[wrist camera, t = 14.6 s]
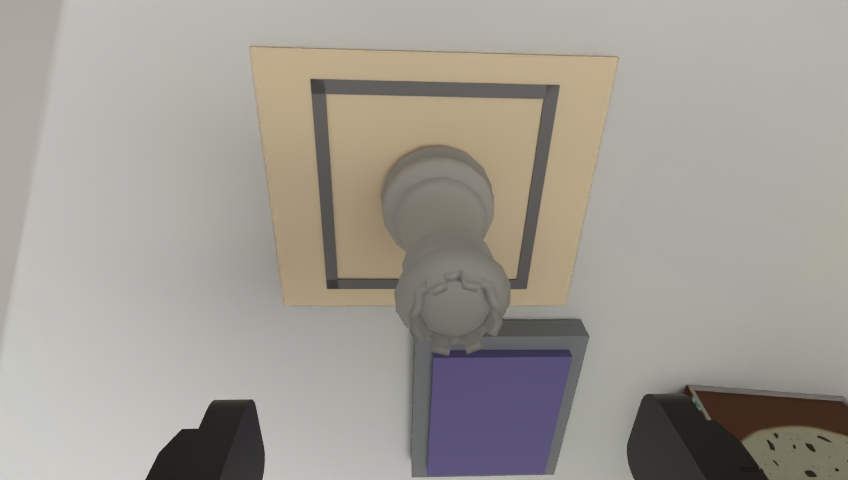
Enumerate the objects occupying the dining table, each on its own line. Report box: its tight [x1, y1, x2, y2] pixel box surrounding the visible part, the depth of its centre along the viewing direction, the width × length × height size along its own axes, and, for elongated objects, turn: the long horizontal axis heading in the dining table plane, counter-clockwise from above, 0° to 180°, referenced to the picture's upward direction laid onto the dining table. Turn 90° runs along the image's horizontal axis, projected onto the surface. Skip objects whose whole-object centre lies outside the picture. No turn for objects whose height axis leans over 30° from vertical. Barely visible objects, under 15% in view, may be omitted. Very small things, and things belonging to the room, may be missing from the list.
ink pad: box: [411, 320, 589, 477], centre depth 25 cm, size 10×8×2 cm
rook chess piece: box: [381, 147, 511, 356], centre depth 16 cm, size 4×4×8 cm
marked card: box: [250, 46, 619, 306], centre depth 20 cm, size 11×13×1 cm
